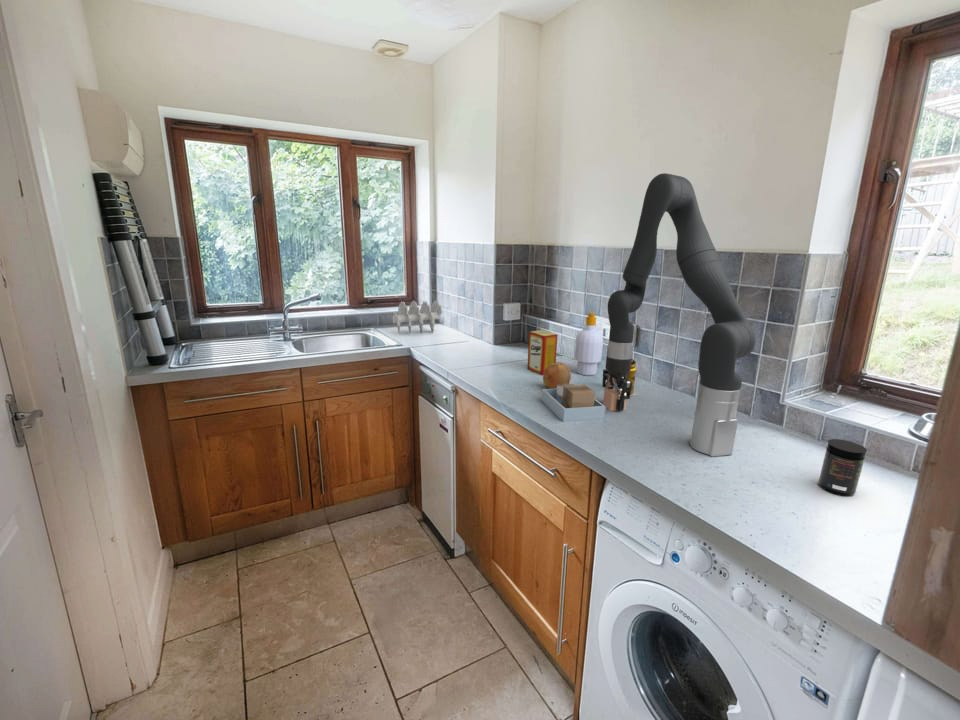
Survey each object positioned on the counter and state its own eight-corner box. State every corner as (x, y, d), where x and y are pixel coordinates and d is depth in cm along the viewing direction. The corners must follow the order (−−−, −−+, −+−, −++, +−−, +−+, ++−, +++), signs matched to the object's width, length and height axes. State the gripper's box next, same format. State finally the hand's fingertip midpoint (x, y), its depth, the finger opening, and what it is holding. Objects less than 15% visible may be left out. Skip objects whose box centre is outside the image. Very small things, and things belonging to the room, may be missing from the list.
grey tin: (579, 407, 145) (580, 389, 144) (560, 408, 144) (561, 390, 142) (571, 400, 151) (572, 382, 150) (552, 401, 150) (553, 383, 148)
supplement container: (850, 485, 104) (861, 442, 101) (859, 500, 98) (871, 455, 95) (814, 478, 106) (824, 436, 104) (820, 492, 100) (831, 448, 98)
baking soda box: (554, 373, 183) (557, 333, 179) (542, 375, 180) (544, 335, 176) (540, 367, 191) (542, 329, 187) (527, 369, 188) (529, 330, 184)
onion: (548, 383, 170) (549, 357, 167) (574, 388, 165) (576, 361, 162) (537, 391, 162) (538, 363, 159) (564, 396, 157) (566, 368, 154)
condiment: (638, 394, 161) (642, 360, 158) (622, 398, 157) (626, 364, 153) (622, 388, 167) (625, 356, 164) (605, 392, 162) (609, 359, 159)
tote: (604, 420, 137) (605, 406, 136) (563, 423, 134) (564, 409, 133) (578, 399, 154) (579, 387, 153) (541, 402, 151) (542, 389, 150)
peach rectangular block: (624, 411, 144) (626, 393, 143) (610, 413, 143) (612, 394, 142) (616, 406, 149) (618, 388, 147) (602, 407, 148) (604, 389, 146)
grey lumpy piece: (393, 339, 252) (437, 334, 260) (398, 331, 236) (445, 327, 244) (388, 307, 255) (432, 303, 263) (392, 297, 238) (439, 294, 246)
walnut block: (592, 417, 137) (595, 392, 135) (570, 419, 136) (572, 393, 134) (582, 409, 144) (584, 384, 142) (561, 410, 142) (563, 385, 140)
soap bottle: (572, 375, 180) (577, 314, 174) (574, 368, 190) (578, 310, 183) (600, 378, 178) (605, 316, 171) (599, 370, 187) (605, 311, 181)
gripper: (643, 361, 136) (636, 414, 140) (618, 349, 149) (613, 397, 153) (620, 362, 134) (614, 415, 138) (597, 350, 147) (592, 399, 152)
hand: (613, 406), depth 146 cm, fingers open, 6 cm apart
